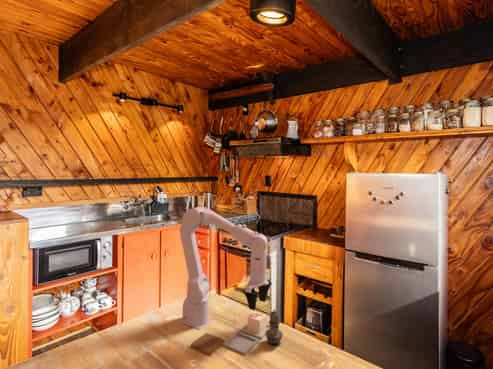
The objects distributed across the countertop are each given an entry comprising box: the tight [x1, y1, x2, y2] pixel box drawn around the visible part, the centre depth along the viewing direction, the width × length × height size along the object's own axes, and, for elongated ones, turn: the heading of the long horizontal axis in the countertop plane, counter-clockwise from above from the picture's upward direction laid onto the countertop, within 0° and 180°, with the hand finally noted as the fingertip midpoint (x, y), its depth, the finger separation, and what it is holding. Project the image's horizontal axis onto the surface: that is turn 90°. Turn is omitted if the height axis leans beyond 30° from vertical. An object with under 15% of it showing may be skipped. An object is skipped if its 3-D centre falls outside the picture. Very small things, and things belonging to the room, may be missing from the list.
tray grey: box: [222, 330, 261, 356], centre depth 99 cm, size 9×9×1 cm
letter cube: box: [247, 310, 267, 335], centre depth 108 cm, size 5×5×5 cm
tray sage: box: [239, 322, 270, 340], centre depth 108 cm, size 9×9×1 cm
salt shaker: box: [265, 309, 283, 348], centre depth 99 cm, size 6×6×12 cm
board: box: [190, 332, 226, 356], centre depth 98 cm, size 8×8×1 cm
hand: (257, 305), depth 107 cm, fingers open, 7 cm apart
